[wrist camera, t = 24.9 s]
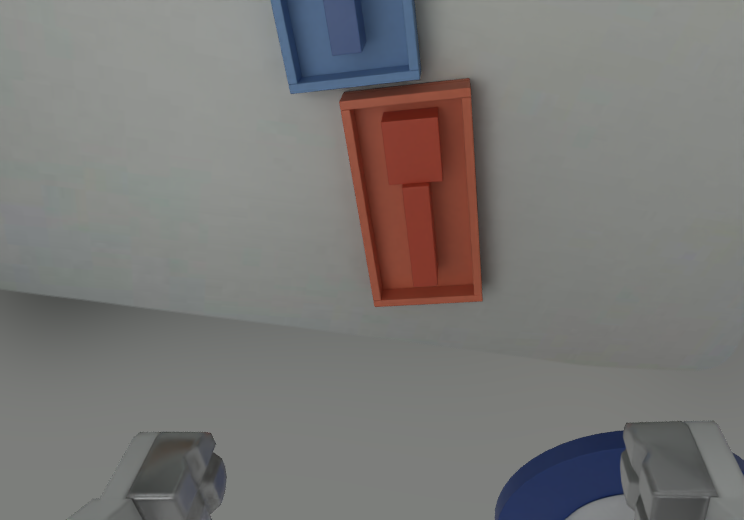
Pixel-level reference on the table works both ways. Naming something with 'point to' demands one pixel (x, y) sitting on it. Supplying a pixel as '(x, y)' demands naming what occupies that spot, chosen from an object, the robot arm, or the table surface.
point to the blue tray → (325, 72)
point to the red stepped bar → (416, 181)
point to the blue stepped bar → (345, 26)
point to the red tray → (385, 201)
